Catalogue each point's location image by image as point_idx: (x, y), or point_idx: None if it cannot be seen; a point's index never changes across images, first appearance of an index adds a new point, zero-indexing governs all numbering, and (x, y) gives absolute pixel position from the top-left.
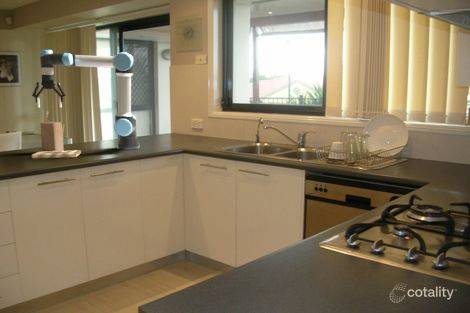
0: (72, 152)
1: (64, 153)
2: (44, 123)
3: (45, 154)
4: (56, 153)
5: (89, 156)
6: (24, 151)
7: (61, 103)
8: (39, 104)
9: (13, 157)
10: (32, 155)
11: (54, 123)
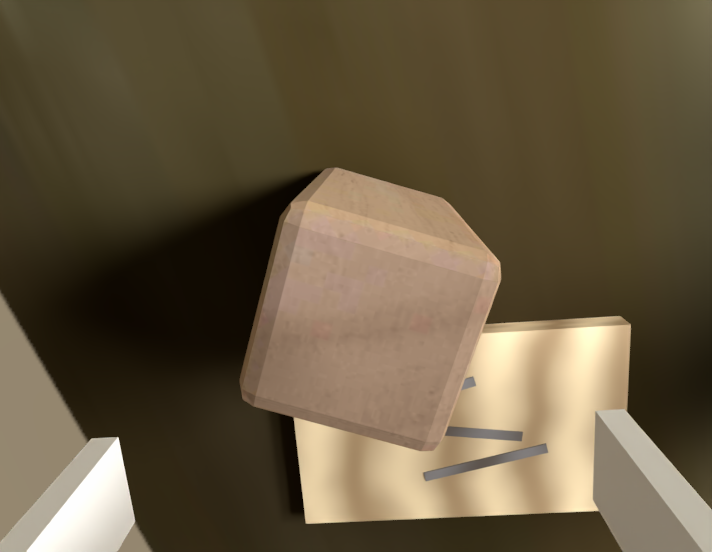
0: (581, 439)
1: (528, 480)
2: (302, 418)
3: (396, 508)
4: (466, 473)
5: (706, 478)
6: (80, 136)
7: (671, 475)
8: (89, 512)
9: (154, 452)
10: (310, 522)
11: (443, 431)
